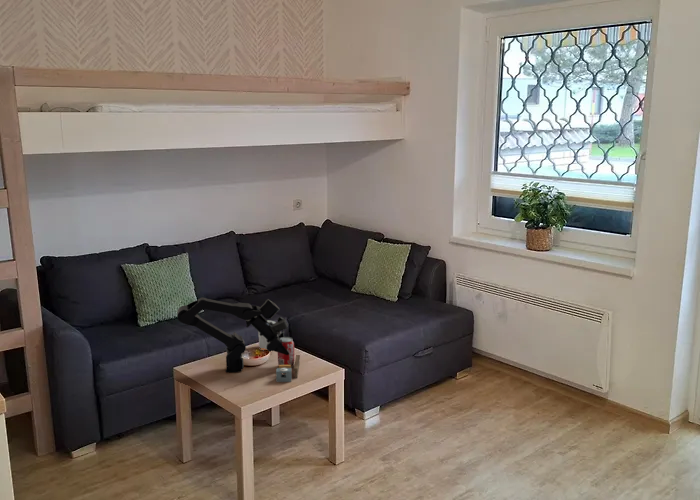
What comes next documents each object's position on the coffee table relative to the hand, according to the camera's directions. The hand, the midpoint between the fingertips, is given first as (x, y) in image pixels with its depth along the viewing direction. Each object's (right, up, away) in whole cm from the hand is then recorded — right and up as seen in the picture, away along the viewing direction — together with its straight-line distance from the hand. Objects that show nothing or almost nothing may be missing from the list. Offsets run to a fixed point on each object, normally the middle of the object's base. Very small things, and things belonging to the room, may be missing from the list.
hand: (289, 351), depth 279 cm
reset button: (-1, -8, -9) cm, 12 cm away
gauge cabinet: (-1, -10, -12) cm, 15 cm away
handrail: (+4, -8, -2) cm, 9 cm away
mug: (-12, -3, +22) cm, 25 cm away
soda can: (-1, -7, +1) cm, 7 cm away
